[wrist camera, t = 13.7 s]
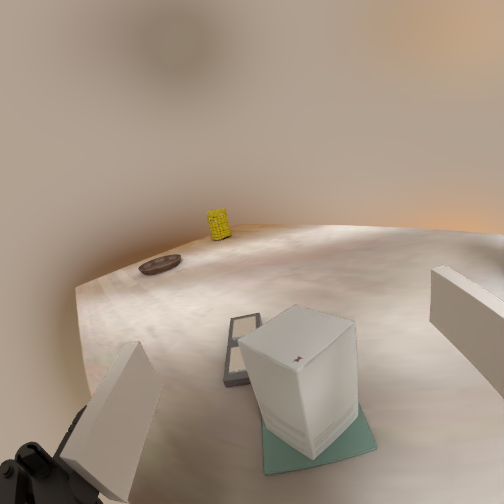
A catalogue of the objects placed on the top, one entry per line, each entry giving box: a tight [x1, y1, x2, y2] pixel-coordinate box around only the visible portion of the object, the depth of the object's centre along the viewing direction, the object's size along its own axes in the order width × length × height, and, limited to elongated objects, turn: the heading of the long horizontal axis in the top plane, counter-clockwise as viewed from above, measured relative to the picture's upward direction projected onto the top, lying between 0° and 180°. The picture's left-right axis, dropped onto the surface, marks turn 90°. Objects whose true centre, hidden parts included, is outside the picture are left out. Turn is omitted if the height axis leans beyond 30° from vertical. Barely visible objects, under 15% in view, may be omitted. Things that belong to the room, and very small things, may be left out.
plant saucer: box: [138, 254, 181, 275], centre depth 106 cm, size 18×18×3 cm
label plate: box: [224, 313, 261, 387], centre depth 43 cm, size 6×18×2 cm, turn 1°
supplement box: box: [237, 305, 358, 460], centre depth 24 cm, size 7×7×13 cm
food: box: [207, 208, 231, 241], centre depth 133 cm, size 15×12×10 cm
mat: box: [261, 402, 377, 475], centre depth 25 cm, size 11×11×1 cm
